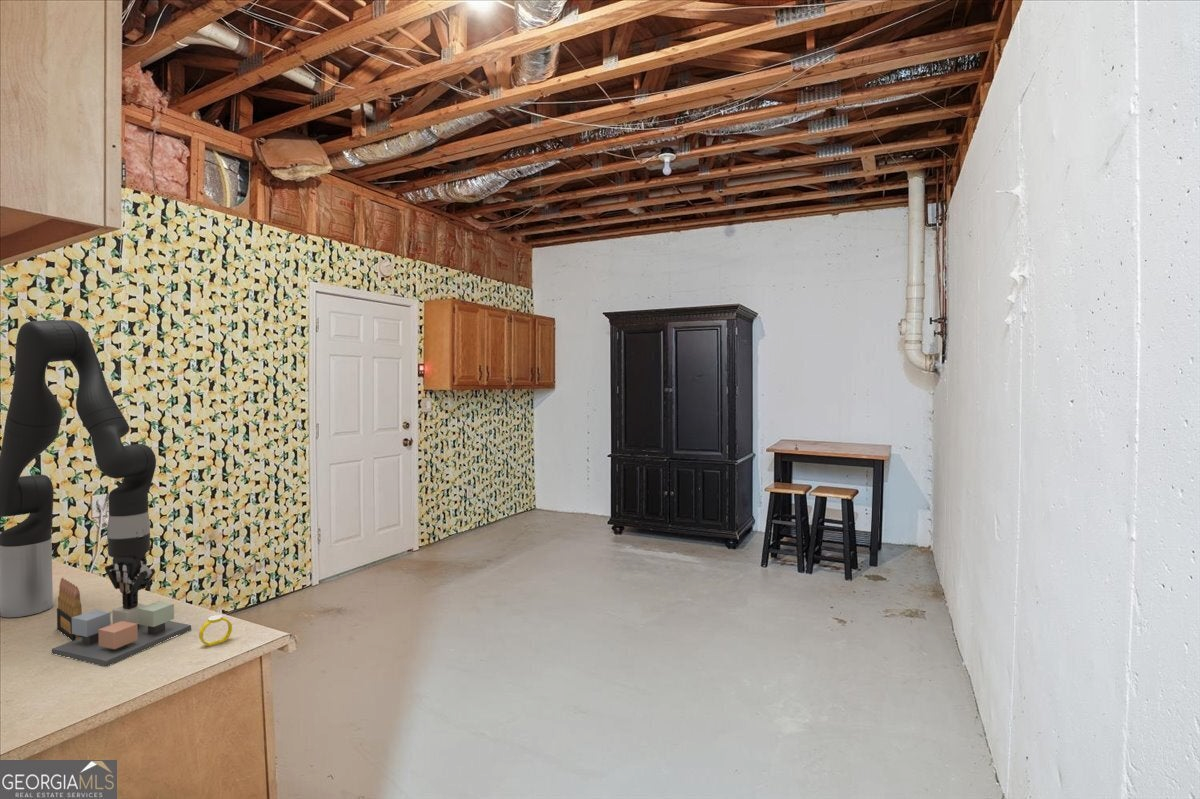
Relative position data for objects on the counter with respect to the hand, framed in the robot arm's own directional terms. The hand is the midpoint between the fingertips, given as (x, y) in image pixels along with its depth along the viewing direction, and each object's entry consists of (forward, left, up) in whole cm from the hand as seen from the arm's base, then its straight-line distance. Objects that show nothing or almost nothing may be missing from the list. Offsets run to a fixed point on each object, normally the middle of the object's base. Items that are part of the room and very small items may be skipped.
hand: (130, 607), depth 135 cm
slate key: (0, -8, -2) cm, 8 cm away
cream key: (0, 0, -3) cm, 4 cm away
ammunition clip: (-11, -5, -6) cm, 14 cm away
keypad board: (+4, -4, -6) cm, 8 cm away
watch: (+23, +2, -6) cm, 24 cm away
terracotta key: (+8, -8, -3) cm, 12 cm away
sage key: (+8, 0, -2) cm, 8 cm away
